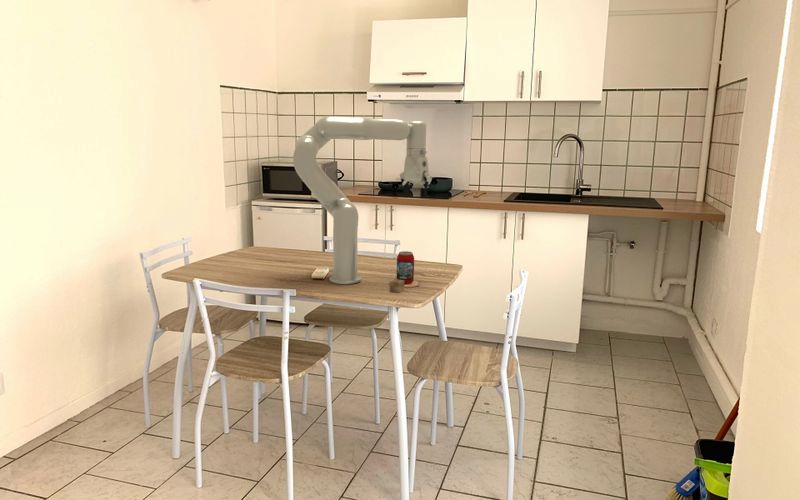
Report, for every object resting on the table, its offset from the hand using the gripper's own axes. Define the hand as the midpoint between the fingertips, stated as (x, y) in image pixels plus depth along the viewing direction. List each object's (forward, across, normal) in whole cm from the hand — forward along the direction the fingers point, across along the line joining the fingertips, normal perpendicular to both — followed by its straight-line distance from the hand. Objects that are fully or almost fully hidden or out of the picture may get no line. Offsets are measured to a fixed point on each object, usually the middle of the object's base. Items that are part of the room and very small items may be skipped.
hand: (415, 196), depth 235 cm
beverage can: (+33, -5, +9) cm, 34 cm away
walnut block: (+33, -10, +18) cm, 39 cm away
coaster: (+33, -5, +9) cm, 35 cm away
